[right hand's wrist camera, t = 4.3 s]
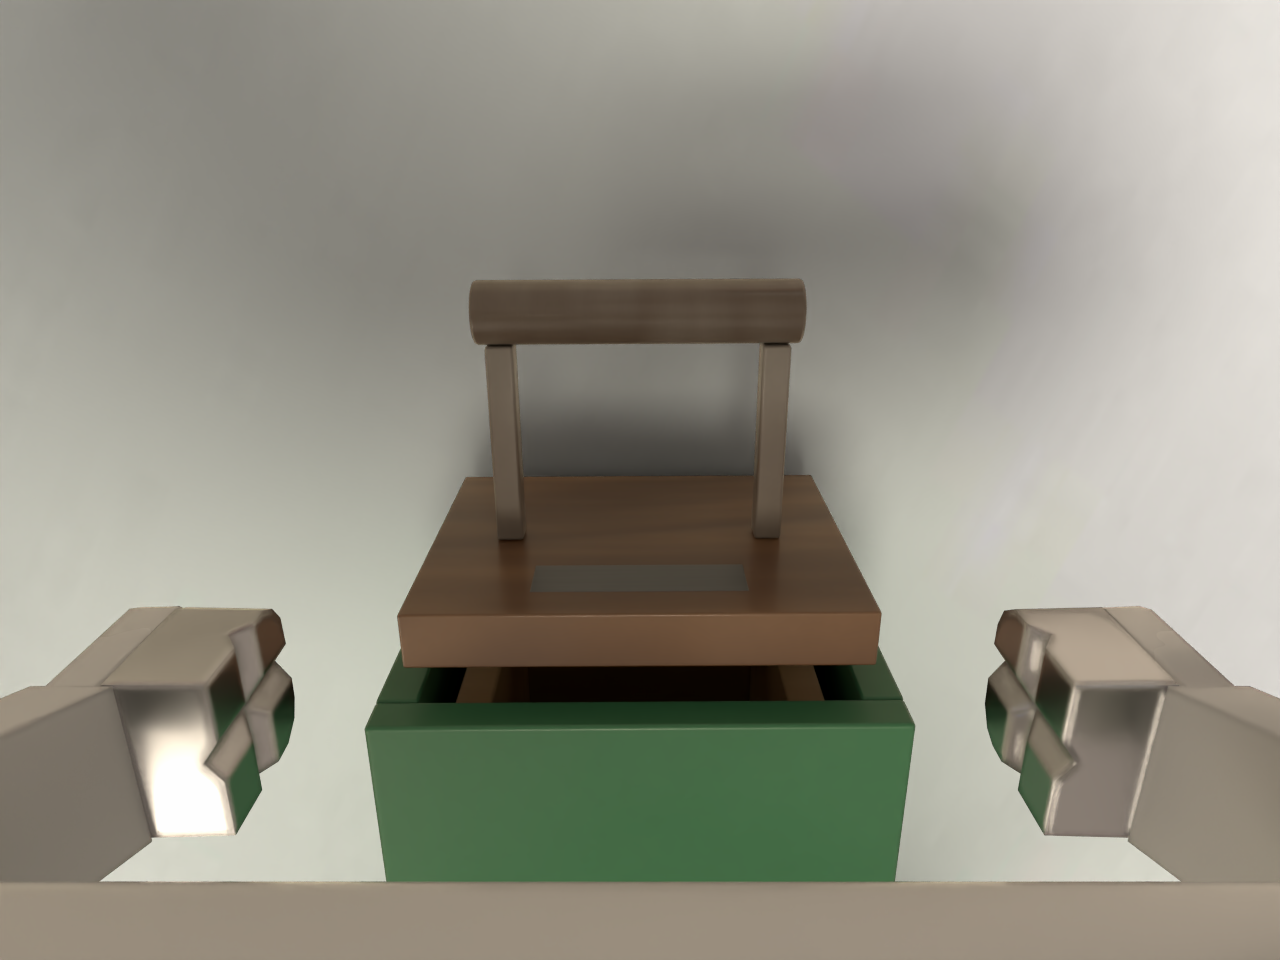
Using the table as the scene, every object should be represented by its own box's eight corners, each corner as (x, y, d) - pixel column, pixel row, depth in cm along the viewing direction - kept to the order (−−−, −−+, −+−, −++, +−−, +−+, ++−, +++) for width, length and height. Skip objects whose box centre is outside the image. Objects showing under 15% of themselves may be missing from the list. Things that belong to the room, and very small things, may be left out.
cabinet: (455, 526, 25) (363, 727, 17) (821, 524, 25) (916, 724, 17) (501, 1049, 33) (454, 1368, 25) (781, 1047, 33) (832, 1365, 25)
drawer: (447, 257, 22) (360, 313, 15) (827, 255, 22) (914, 311, 15) (509, 1014, 31) (473, 1262, 24) (773, 1012, 31) (811, 1259, 24)
